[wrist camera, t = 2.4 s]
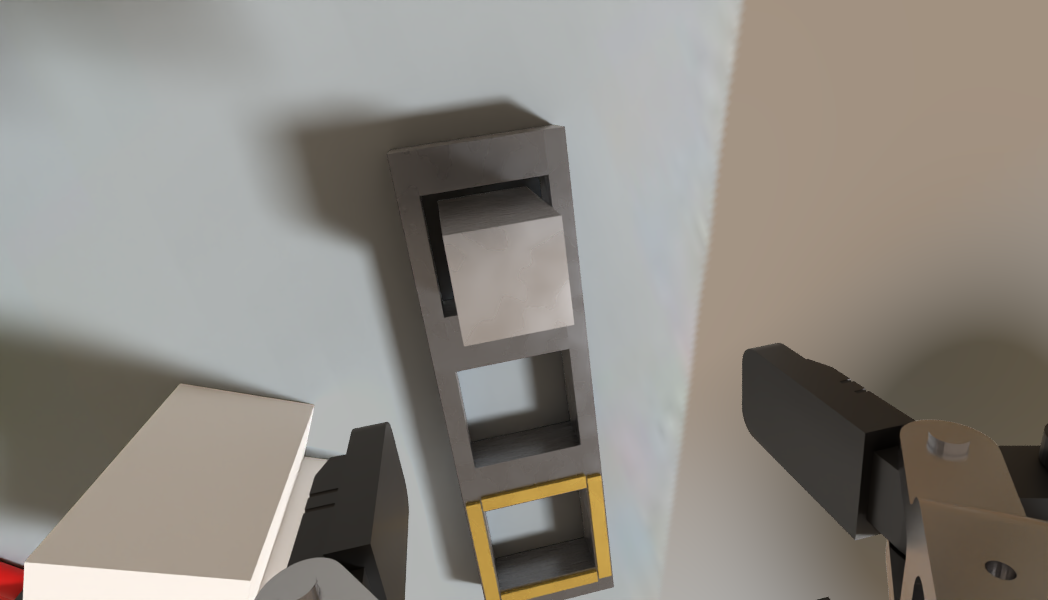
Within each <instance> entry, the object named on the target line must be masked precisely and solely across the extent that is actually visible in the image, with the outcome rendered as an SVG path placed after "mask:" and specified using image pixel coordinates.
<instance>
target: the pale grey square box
mask: <svg viewBox="0 0 1048 600" xmlns="http://www.w3.org/2000/svg"><path fill="white" fill-rule="evenodd" d="M438 207H439V215H440V222H441V229H442V236H443V242H444V247H445V252H446V257H447V262H448V267H449V272H450V277H451V283H452V288H453V293H454V298H455V303H456V308H457V313H458V318H459V324H460V329H461V334H462V339H463V344H464V346H469V345H474V344H479V343H484V342H490V341H495V340H500V339H505V338H510V337H515V336H520V335H525V334H530V333H535V332H540V331H545V330H550V329H555V328H560V327H566V326H571V325H574V317H573V309H572V300H571V291H570V283H569V274H568V265H567V256H566V248H565V239H564V230H563V222H562V215H561V214H559V213H558V212H557V211H556V210H555V209H553V208H552V207H551V206H550V205H548V204H547V203H546V202H545V201H544V200H542V199H541V198H540V197H539V196H537V195H536V194H535V193H534V192H532V191H531V190H530V189H529V188H528V187H526V186H522V187H516V188H510V189H504V190H498V191H492V192H486V193H480V194H474V195H468V196H462V197H456V198H450V199H444V200H438Z"/></svg>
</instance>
